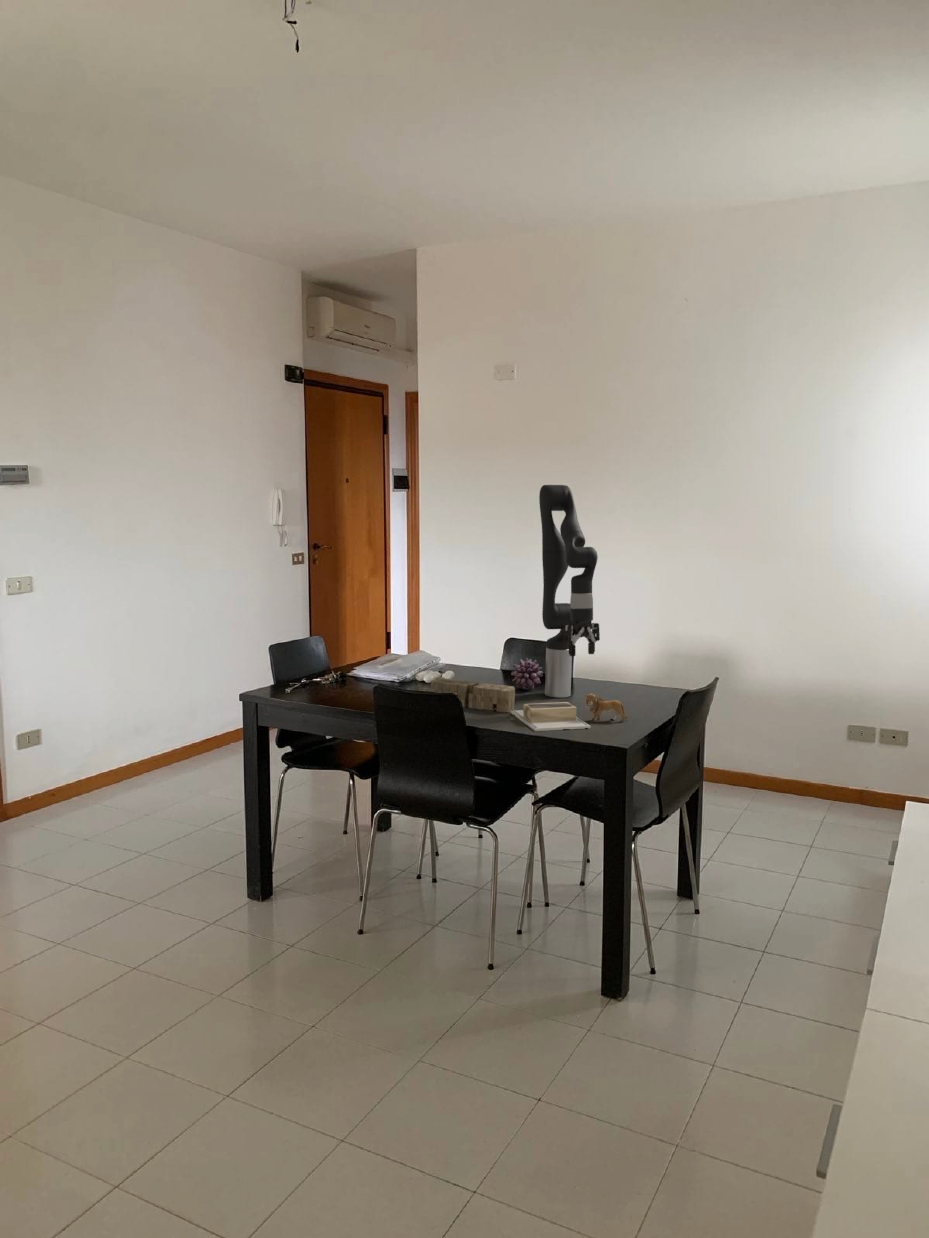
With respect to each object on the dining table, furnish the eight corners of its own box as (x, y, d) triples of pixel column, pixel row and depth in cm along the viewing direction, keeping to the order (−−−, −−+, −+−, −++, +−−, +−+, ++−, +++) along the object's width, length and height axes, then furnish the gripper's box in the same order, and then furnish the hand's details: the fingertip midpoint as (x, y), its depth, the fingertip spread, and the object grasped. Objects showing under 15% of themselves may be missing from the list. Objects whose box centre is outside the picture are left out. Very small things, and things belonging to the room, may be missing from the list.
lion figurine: (586, 723, 287) (587, 695, 286) (581, 719, 292) (582, 692, 291) (630, 722, 290) (631, 694, 288) (624, 718, 295) (625, 690, 294)
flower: (542, 687, 341) (543, 655, 340) (542, 693, 329) (543, 661, 328) (511, 685, 342) (512, 654, 341) (510, 692, 331) (511, 660, 329)
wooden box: (523, 716, 292) (523, 703, 291) (567, 714, 295) (567, 701, 295) (531, 722, 284) (531, 709, 283) (576, 719, 288) (576, 707, 287)
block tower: (517, 711, 306) (440, 698, 319) (518, 687, 305) (441, 675, 318) (507, 716, 299) (429, 703, 312) (509, 691, 298) (431, 679, 311)
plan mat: (511, 713, 299) (511, 710, 299) (562, 710, 304) (562, 707, 303) (535, 731, 276) (535, 728, 276) (590, 728, 281) (590, 725, 281)
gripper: (589, 605, 311) (589, 652, 312) (558, 607, 303) (558, 655, 304) (605, 606, 305) (605, 654, 306) (573, 608, 297) (573, 657, 298)
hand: (581, 655), depth 305 cm, fingers open, 8 cm apart
